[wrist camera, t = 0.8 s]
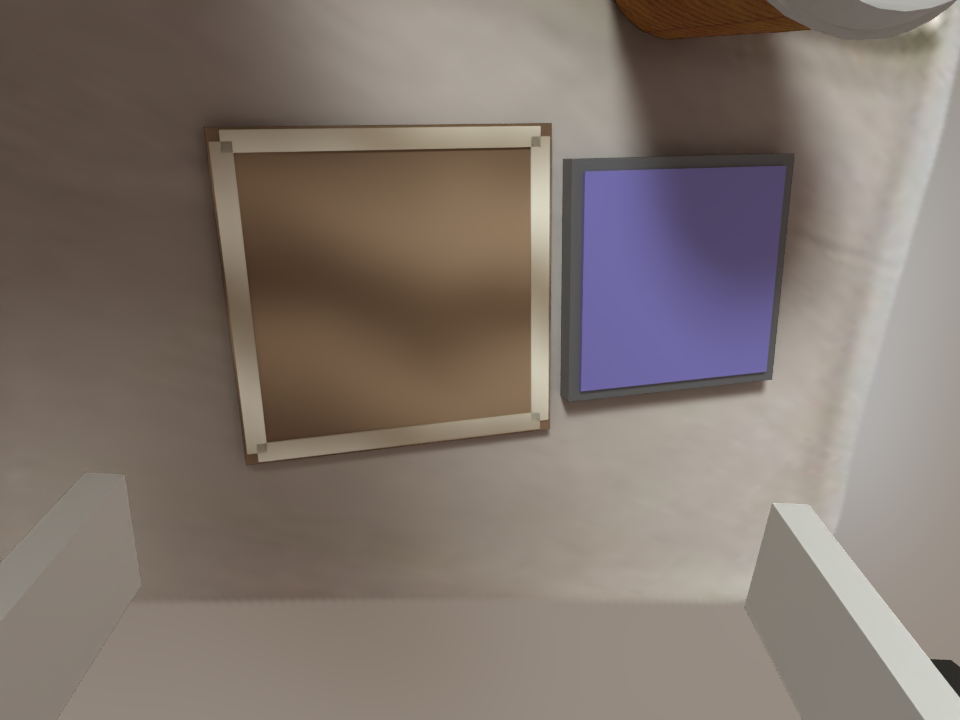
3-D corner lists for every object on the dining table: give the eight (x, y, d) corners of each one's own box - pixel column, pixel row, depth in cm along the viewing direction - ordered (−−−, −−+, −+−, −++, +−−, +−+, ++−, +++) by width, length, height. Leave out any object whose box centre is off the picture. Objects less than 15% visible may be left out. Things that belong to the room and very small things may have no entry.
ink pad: (563, 159, 29) (573, 158, 28) (779, 153, 32) (797, 153, 30) (560, 394, 32) (570, 403, 31) (759, 373, 34) (774, 380, 33)
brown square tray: (205, 127, 25) (203, 127, 25) (547, 123, 29) (552, 123, 28) (247, 460, 29) (246, 466, 29) (546, 425, 32) (550, 429, 32)
